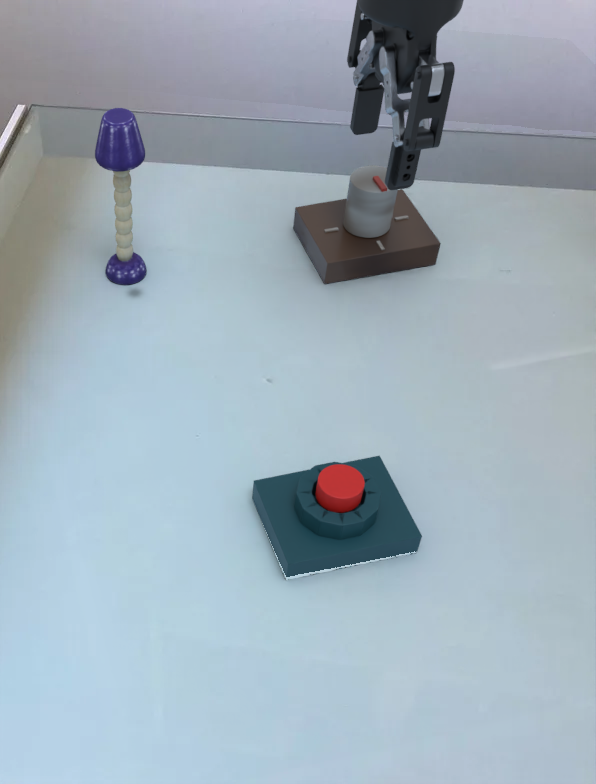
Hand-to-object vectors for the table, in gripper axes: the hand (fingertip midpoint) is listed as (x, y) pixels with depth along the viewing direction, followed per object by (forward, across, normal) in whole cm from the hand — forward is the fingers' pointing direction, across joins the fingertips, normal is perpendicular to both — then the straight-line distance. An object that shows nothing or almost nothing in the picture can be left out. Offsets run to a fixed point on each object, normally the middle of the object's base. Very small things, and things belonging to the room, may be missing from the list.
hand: (379, 158), depth 79 cm
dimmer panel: (+17, +12, -6) cm, 21 cm away
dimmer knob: (+14, +12, -5) cm, 19 cm away
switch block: (+17, -24, +9) cm, 31 cm away
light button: (+13, -24, +9) cm, 29 cm away
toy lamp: (+17, +13, +20) cm, 29 cm away
